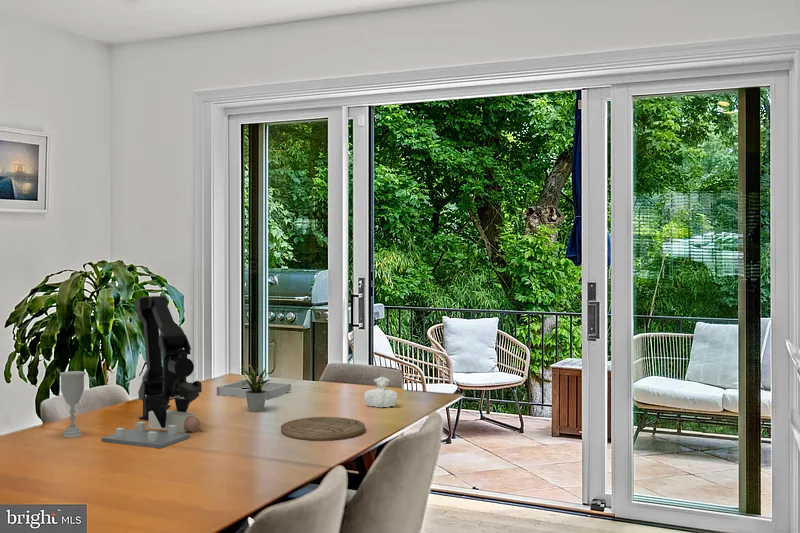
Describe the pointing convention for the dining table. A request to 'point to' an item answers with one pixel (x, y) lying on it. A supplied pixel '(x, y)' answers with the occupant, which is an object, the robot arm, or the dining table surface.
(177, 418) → the white block
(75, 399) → the chalice
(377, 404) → the bust
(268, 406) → the dining table surface
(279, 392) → the tray
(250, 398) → the house plant
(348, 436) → the trivet
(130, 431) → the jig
